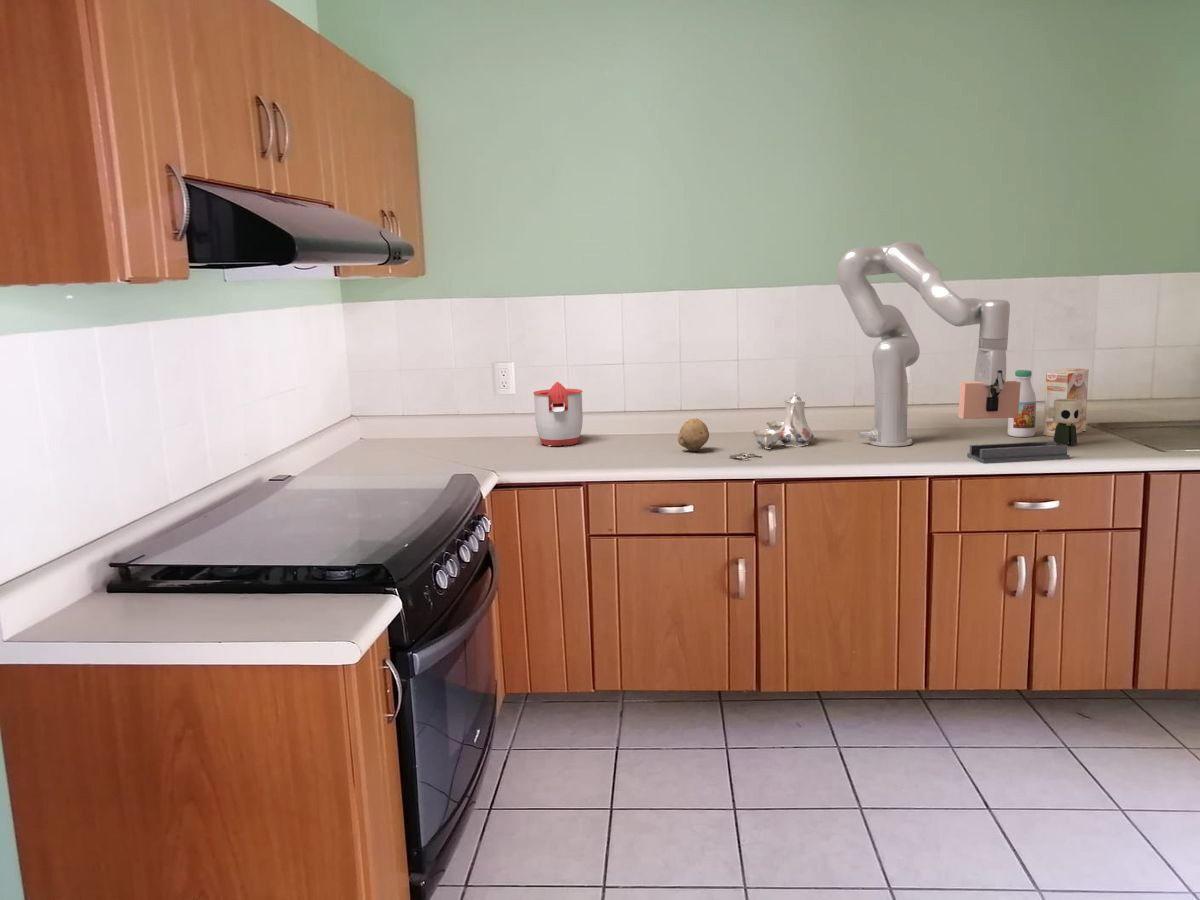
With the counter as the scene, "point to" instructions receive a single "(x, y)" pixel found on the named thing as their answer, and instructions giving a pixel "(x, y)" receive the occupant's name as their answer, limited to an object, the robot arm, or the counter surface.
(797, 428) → the chinaware
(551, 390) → the citrus juicer
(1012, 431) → the milk bottle
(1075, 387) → the coffeecake box
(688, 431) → the brown round lump
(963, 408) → the door panel
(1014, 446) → the door track
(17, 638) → the counter surface
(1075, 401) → the character mug
